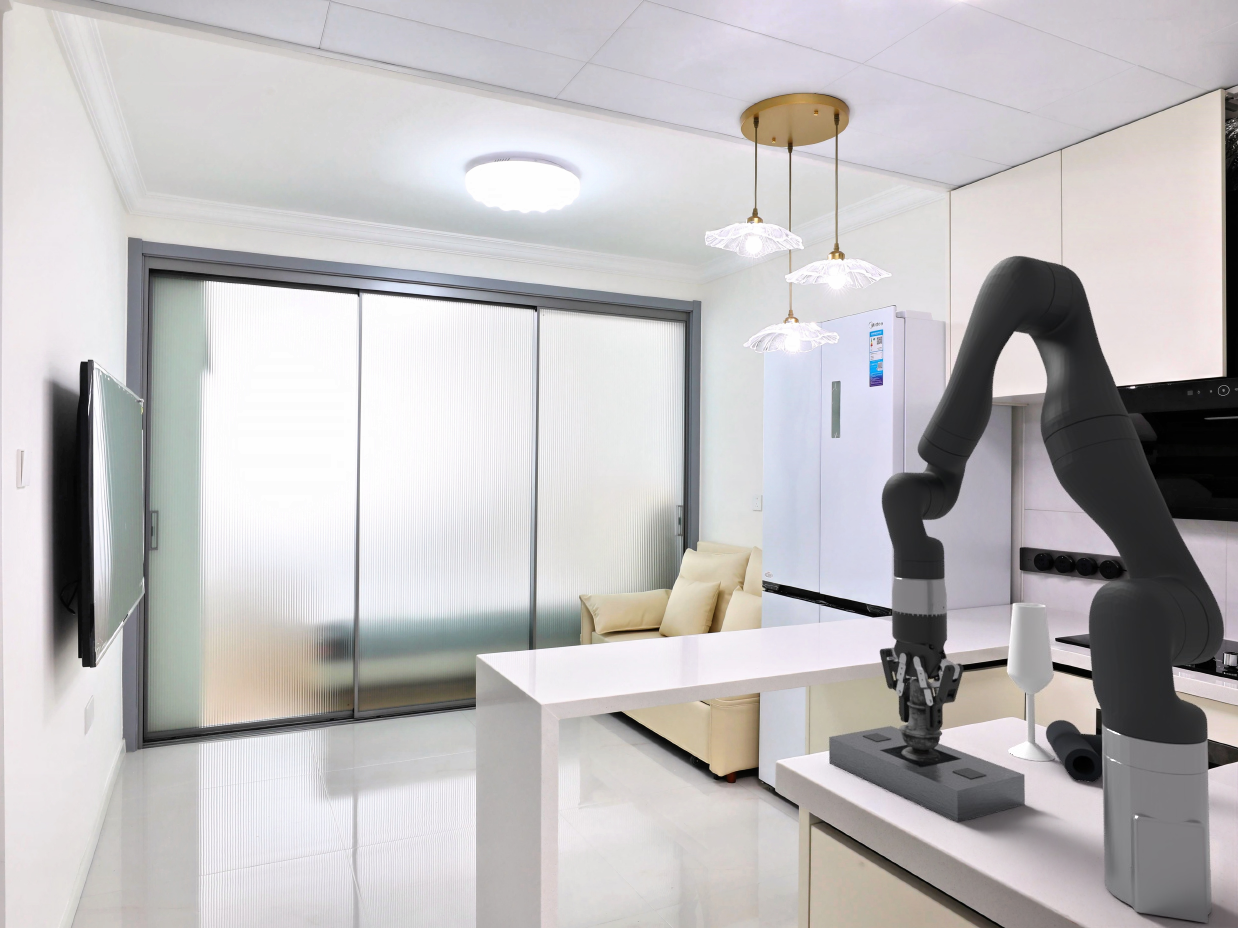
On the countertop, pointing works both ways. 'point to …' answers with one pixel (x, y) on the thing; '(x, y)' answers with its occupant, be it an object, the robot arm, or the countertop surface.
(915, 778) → the gray slotted block
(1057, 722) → the pipe connector
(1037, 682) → the champagne flute
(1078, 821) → the countertop surface
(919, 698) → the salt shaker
